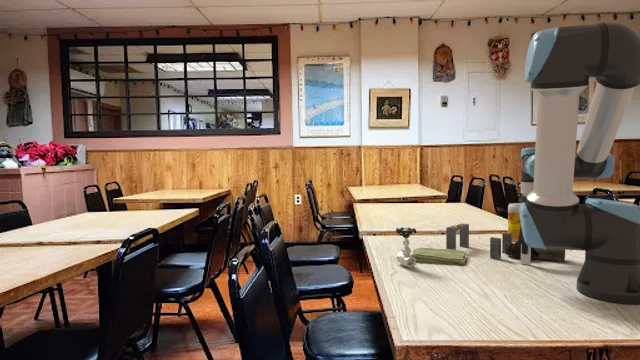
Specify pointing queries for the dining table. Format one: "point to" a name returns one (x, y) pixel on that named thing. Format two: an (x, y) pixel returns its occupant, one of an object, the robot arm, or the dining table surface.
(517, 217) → the beer glass
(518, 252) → the dark green flashlight
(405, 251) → the valve
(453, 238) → the grey upright posts
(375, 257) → the dining table surface
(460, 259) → the washcloth
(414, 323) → the dining table surface
